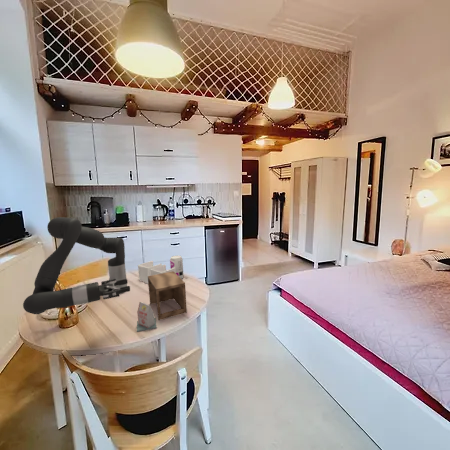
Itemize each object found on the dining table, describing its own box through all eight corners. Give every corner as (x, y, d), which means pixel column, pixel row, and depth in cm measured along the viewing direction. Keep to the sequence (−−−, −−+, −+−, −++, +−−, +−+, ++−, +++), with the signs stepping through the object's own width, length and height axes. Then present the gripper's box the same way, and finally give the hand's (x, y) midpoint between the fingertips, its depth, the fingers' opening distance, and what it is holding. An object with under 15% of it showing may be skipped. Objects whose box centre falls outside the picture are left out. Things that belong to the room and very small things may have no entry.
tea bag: (144, 320, 120) (143, 300, 119) (154, 324, 117) (153, 303, 115) (138, 323, 117) (136, 303, 116) (148, 328, 114) (146, 307, 112)
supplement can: (173, 281, 168) (171, 259, 165) (169, 277, 175) (168, 256, 172) (185, 279, 171) (183, 257, 169) (181, 275, 179) (180, 254, 176)
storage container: (139, 280, 171) (137, 265, 170) (153, 275, 180) (152, 260, 178) (162, 289, 156) (161, 272, 154) (176, 284, 164) (175, 267, 162)
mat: (136, 332, 112) (136, 330, 112) (137, 322, 120) (137, 321, 120) (156, 328, 114) (156, 327, 114) (155, 318, 122) (155, 317, 122)
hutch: (158, 320, 121) (156, 289, 118) (150, 303, 138) (147, 276, 135) (186, 312, 127) (185, 282, 125) (175, 297, 144) (173, 271, 142)
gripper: (85, 291, 97) (130, 282, 104) (85, 278, 109) (125, 271, 116) (87, 309, 98) (131, 299, 105) (87, 295, 110) (127, 286, 118)
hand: (128, 284), depth 111 cm, fingers open, 8 cm apart
